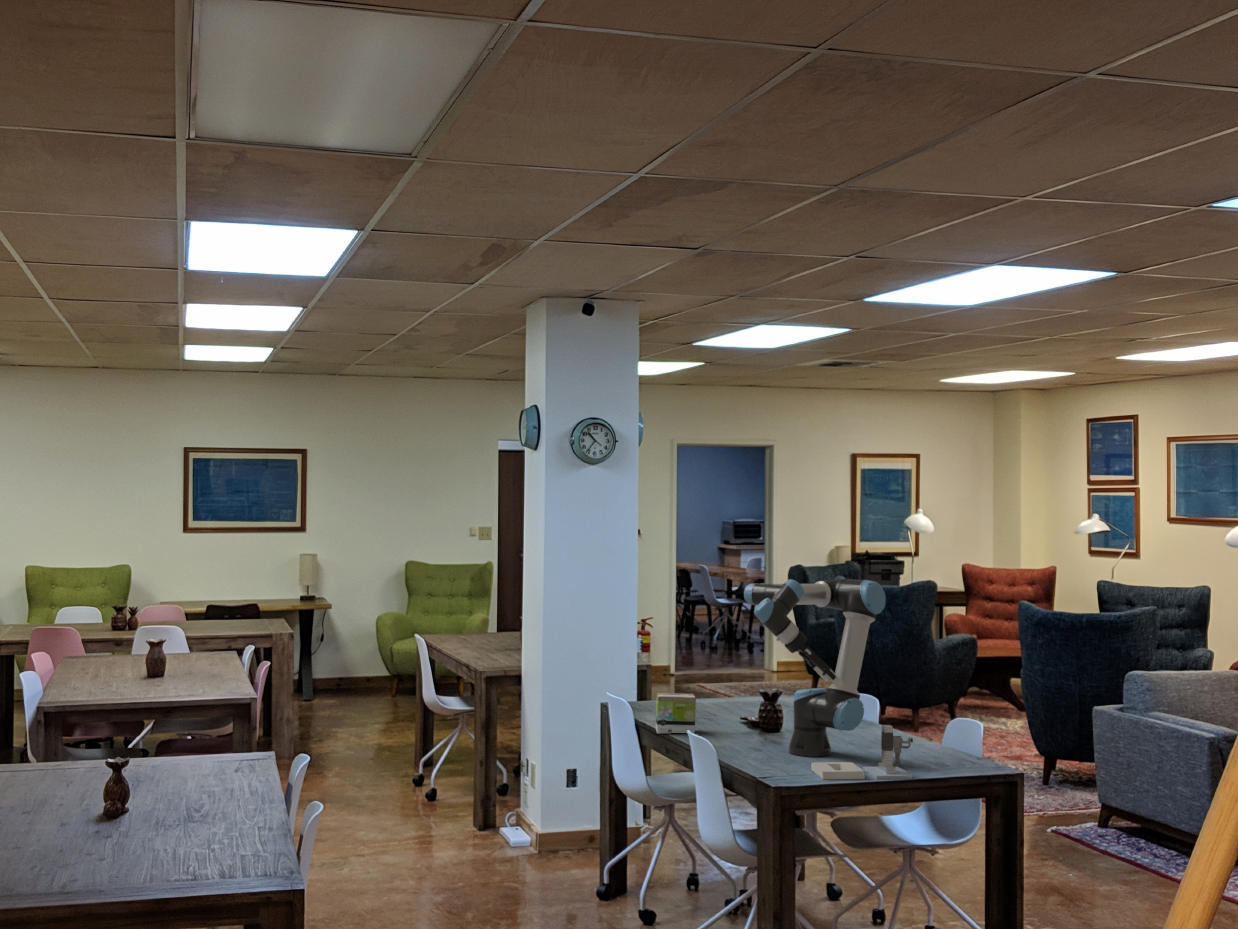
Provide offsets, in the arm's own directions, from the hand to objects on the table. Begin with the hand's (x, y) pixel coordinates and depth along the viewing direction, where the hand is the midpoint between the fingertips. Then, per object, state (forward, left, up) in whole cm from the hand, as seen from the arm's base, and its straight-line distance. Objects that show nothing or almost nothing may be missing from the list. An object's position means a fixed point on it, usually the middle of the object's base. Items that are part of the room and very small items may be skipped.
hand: (834, 682), depth 391 cm
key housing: (+5, 0, -30) cm, 30 cm away
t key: (+5, +17, -29) cm, 33 cm away
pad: (+5, +17, -30) cm, 34 cm away
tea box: (-71, -43, -30) cm, 89 cm away
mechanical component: (-8, +25, -30) cm, 40 cm away
